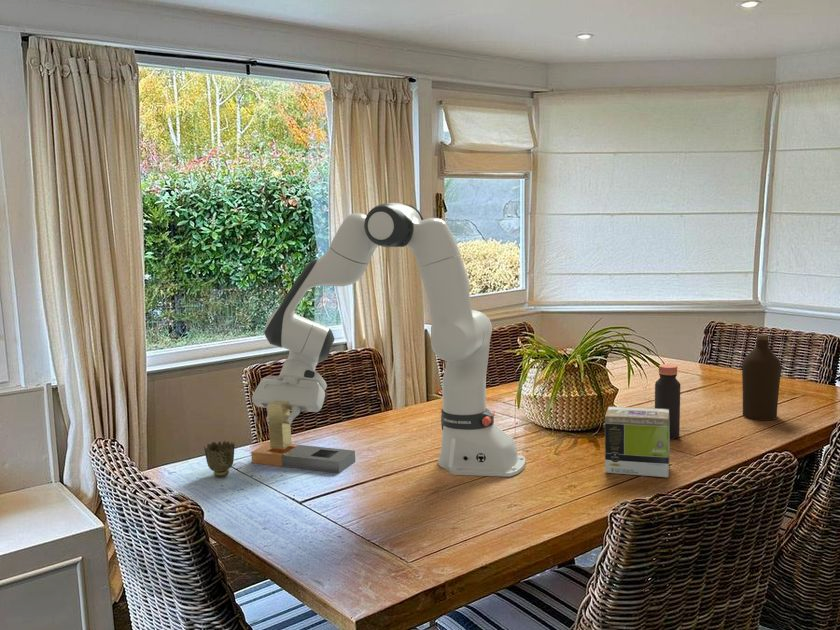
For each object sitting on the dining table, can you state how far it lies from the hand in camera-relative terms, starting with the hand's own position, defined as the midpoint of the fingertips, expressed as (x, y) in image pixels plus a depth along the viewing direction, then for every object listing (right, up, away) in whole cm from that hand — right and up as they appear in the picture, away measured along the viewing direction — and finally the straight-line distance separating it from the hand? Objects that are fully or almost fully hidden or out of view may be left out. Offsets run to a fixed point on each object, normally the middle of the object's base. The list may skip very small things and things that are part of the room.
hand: (278, 422), depth 200 cm
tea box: (+91, -10, -13) cm, 93 cm away
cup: (-13, -12, -9) cm, 20 cm away
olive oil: (+140, -2, +29) cm, 143 cm away
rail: (+7, -10, 0) cm, 12 cm away
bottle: (+107, -6, +13) cm, 108 cm away
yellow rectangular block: (0, -7, +2) cm, 7 cm away
